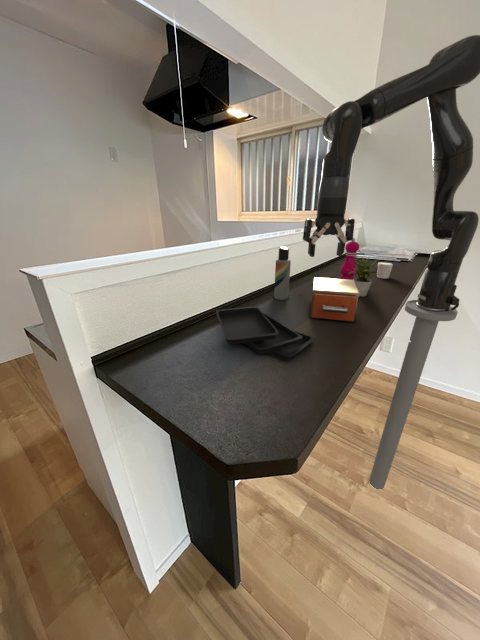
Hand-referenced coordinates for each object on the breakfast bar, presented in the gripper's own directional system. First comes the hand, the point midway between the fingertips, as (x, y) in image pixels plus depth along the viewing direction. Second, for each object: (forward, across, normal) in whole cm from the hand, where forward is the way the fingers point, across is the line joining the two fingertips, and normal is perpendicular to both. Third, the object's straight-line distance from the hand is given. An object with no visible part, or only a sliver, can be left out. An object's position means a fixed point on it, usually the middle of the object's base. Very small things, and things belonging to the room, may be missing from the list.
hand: (325, 256), depth 79 cm
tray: (+21, -23, -12) cm, 33 cm away
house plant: (+21, +26, +23) cm, 41 cm away
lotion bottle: (+21, -6, +23) cm, 31 cm away
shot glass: (+21, +53, +46) cm, 74 cm away
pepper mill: (+21, +33, +44) cm, 59 cm away
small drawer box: (+21, +7, +6) cm, 23 cm away
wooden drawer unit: (+20, +5, +2) cm, 21 cm away
